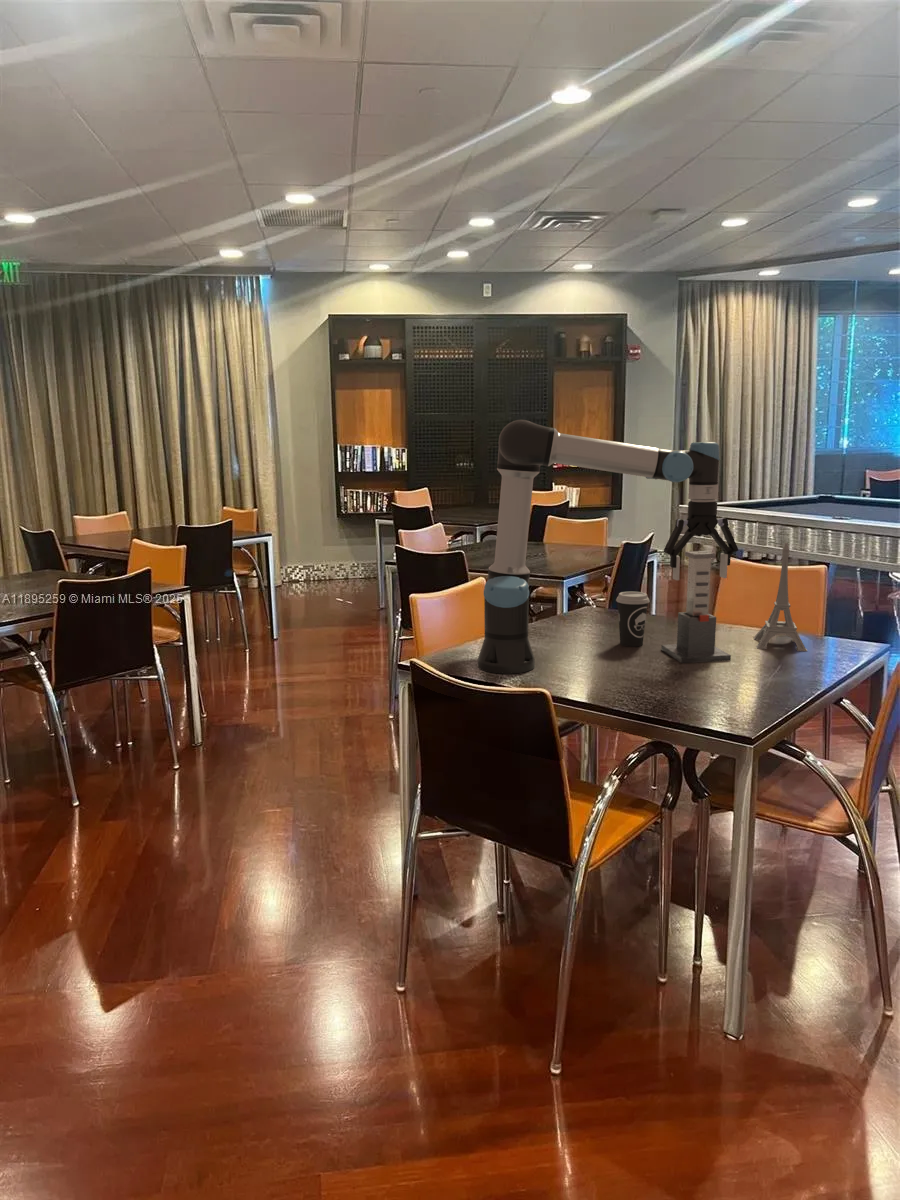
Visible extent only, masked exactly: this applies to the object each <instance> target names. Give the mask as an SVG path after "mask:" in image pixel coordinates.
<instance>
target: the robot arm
mask: <svg viewBox="0 0 900 1200" xmlns="http://www.w3.org/2000/svg"><path fill="white" fill-rule="evenodd" d="M689 445H690V446H689V449H684V450H681V449H678V450H676V449H675V450H673V449H672V450H671V449H665V448H659V447H652V446H645V445H638V444H632V443H627V442H626V443H625V442H620V441H614V440H608V439H607V440H606V439H599V438H593V437H587V436H580V435H574V434H567V433H560V432H559V431H558V430H557V428H554V427H548V426H544V425H542V424H541V425H540V424H537V423H535V422H532V421H529V420H526V419H516V420H513V421H511V422H509V423H507V424H506V425H505V426H504V427H503V429H502V430H501V431H500V434H499V436H498V453H497V463H496V464H497V465H496V466H497V467H496V470H497V471H498V473H499V474H500V475H501V483H500V496H499V507H498V508H499V509H498V519H497V529H496V539H495V540H496V542H495V550H494V551H495V552H494V562H493V563H492V564H491V565H490V566H489V567H488V571H487V581H486V582H485V583H484V589H483V598H484V600H483V601H484V607H483V608H484V610H483V611H484V617H483V618H484V637H483V642H482V645H481V647H480V648H481V649H480V652H479V653H478V656H477V657H478V658H477V667H478V668H479V669H480V670H482V671H485V672H488V673H494V674H506V675H509V674H511V675H512V674H520V673H521V674H523V673H526V672H529V671H532V670H533V669H535V665H536V664H535V663H536V661H535V658H536V657H535V656H534V653H533V648H532V646H531V644H530V640H529V607H530V606H529V601H530V600H529V597H530V589H529V588H530V574H531V570H530V569H529V568H528V567H527V565H526V562H527V561H526V559H527V550H528V539H529V529H530V518H531V507H532V498H533V487H534V486H533V485H534V478H535V477H537V476H538V475H539V474H540V470H541V466H544V467H545V466H546V467H550V466H551V465H553V464H559V465H566V466H571V467H579V468H583V469H584V468H585V469H591V470H598V471H603V472H605V471H606V472H611V473H617V474H624V475H630V476H638V477H645V478H646V479H647V480H648V479H649V480H650V479H651V480H661V481H663V480H664V481H667V482H671V483H680V482H684V481H685V480H687V479H688V493H687V494H688V497H687V498H688V500H689V501H688V503H687V519H680V518H677V519H676V520H675V525H674V529H673V530H672V532H671V534H670V536H669V538H668V540H667V543H666V544H665V546H664V548H663V550H662V551H663V553H664V554H666V555H669V556H670V557H669V566H670V568H671V569H672V579H673V580H675V581H680V564H681V563H680V562H681V556H679V554H680V552H681V551H682V550H683V549H684V547H685V546H686V545H687V543H689V542H690V540H691V539H692V538H694V537H695V536H697V537H698V536H702V535H703V536H709V535H710V537H712V539H713V540H714V542H715V543H716V545H718V546H719V548H720V549H721V550H722V551H723V552H721V553H720V561H719V562H720V563H719V578H722V579H727V578H728V577H727V576H728V566H730V565H731V557H732V555H733V554H734V552H737V551H739V547H738V545H737V543H736V540H735V538H734V537H733V533H732V531H731V530H730V527H729V519H728V518H727V517H720V518H717V514H718V502H717V501H716V500H717V499H718V495H719V494H718V493H719V492H718V491H719V471H720V469H719V468H720V461H721V458H720V445H719V443H718V442H715V441H708V442H707V441H701V442H699V441H698V442H697V441H696V442H695V441H694V442H691V443H690V444H689ZM717 525H718V526H719V527H720V530H721V533H722V534H723V536H724V539H725V540H724V539H723V538H722V537H721V535H720V534H719V532H718V531H717V529H716V527H717ZM685 526H687V530H685V531H684V534H683V535H682V537H681V538H680V539H679V537H680V536H681V534H682V532H683V529H684V528H685ZM725 541H726V542H725Z"/></svg>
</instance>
